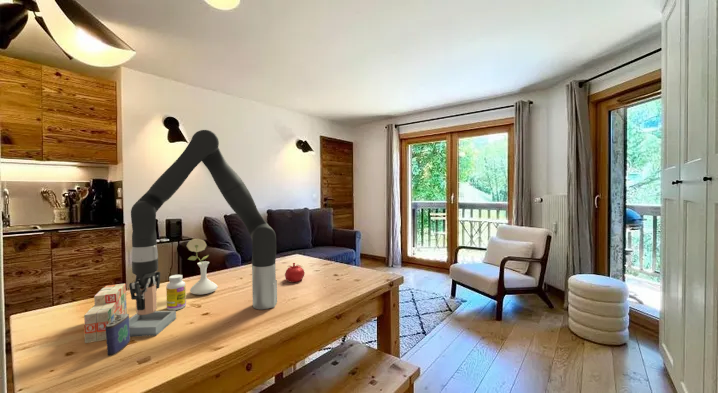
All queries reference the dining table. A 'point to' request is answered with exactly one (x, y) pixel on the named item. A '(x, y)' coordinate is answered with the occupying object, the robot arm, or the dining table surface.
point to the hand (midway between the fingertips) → (146, 305)
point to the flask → (117, 334)
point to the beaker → (149, 301)
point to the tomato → (294, 273)
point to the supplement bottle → (176, 293)
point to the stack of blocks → (104, 311)
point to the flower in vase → (204, 283)
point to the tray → (150, 323)
